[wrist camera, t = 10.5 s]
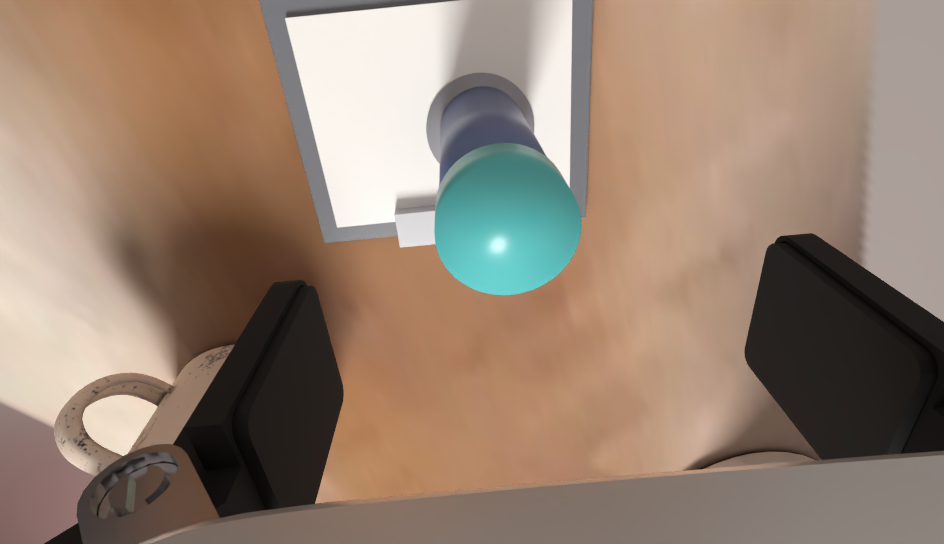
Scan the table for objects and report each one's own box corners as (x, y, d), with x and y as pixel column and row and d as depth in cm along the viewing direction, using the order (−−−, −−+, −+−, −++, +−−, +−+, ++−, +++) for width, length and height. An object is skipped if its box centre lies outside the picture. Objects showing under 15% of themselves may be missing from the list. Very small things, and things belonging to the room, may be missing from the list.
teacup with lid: (374, 398, 29) (338, 624, 19) (278, 474, 32) (203, 705, 22) (182, 271, 24) (-1, 484, 14) (89, 374, 27) (-117, 612, 17)
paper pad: (590, -40, 18) (600, -40, 17) (583, 216, 24) (590, 228, 23) (261, -6, 18) (250, -4, 17) (327, 241, 24) (321, 255, 23)
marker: (527, 168, 21) (579, 287, 13) (443, 176, 21) (443, 301, 13) (524, 79, 20) (583, 154, 11) (432, 88, 20) (425, 169, 11)
